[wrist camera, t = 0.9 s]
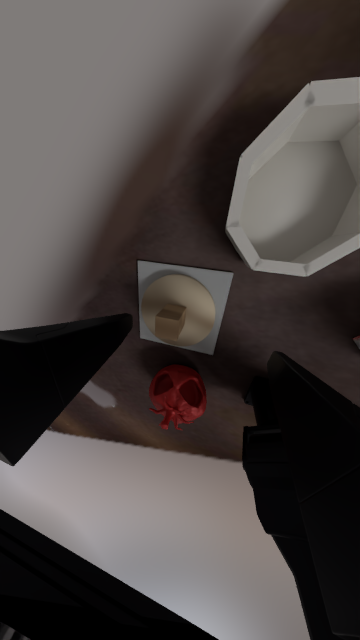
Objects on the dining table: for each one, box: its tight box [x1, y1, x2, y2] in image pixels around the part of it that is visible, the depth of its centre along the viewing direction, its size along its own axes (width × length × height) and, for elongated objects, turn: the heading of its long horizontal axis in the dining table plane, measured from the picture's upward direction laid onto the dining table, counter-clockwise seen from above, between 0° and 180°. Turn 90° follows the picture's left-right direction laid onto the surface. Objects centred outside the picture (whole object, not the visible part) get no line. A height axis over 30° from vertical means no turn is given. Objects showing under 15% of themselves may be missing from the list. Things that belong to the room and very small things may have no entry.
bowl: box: [225, 77, 360, 277], centre depth 13 cm, size 11×11×4 cm
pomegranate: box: [149, 364, 207, 430], centre depth 25 cm, size 10×10×9 cm
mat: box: [138, 260, 233, 355], centre depth 22 cm, size 13×13×1 cm
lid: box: [141, 274, 215, 346], centre depth 20 cm, size 11×11×6 cm
